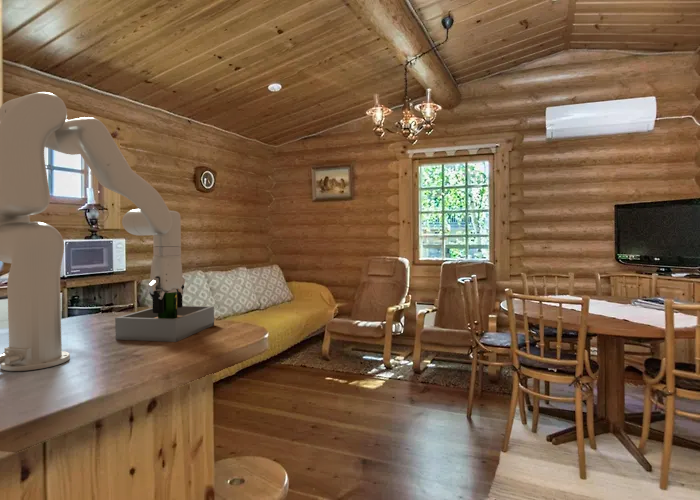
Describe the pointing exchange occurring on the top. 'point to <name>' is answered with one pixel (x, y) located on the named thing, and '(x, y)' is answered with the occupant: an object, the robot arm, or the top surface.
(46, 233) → the robot arm
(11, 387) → the top surface
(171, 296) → the beer can
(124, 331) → the walled box
